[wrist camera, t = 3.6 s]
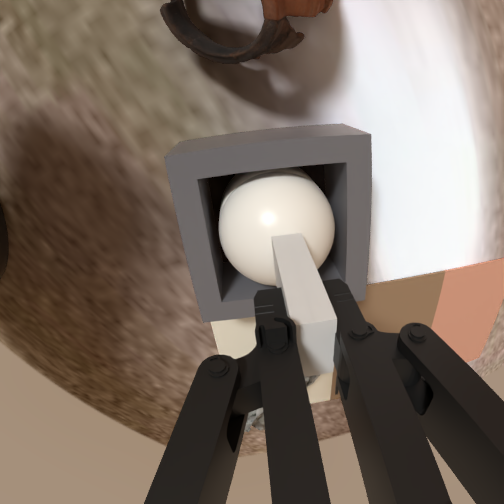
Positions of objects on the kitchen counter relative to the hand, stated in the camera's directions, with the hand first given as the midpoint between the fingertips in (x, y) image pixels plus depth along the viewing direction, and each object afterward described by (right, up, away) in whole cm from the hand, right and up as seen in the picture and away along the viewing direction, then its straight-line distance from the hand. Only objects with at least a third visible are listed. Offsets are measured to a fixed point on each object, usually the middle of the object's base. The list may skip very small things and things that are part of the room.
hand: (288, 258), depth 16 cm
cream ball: (-1, +4, +6) cm, 7 cm away
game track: (+12, -9, +14) cm, 20 cm away
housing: (-1, +4, +6) cm, 7 cm away
